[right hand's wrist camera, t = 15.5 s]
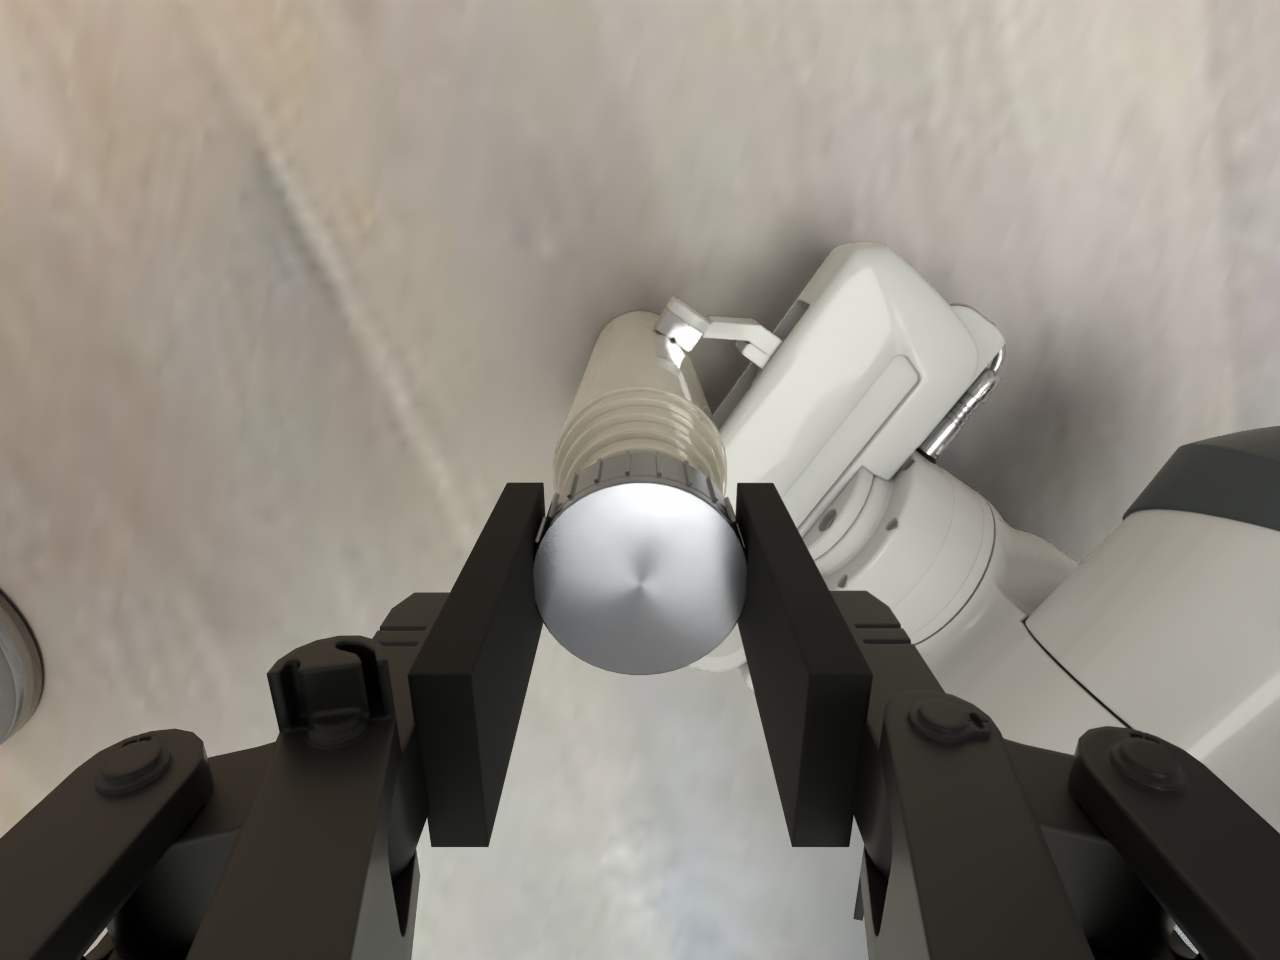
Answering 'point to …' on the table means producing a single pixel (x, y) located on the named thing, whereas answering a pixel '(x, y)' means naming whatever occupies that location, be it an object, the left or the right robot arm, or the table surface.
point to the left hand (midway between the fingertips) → (622, 373)
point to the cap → (640, 565)
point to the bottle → (639, 404)
